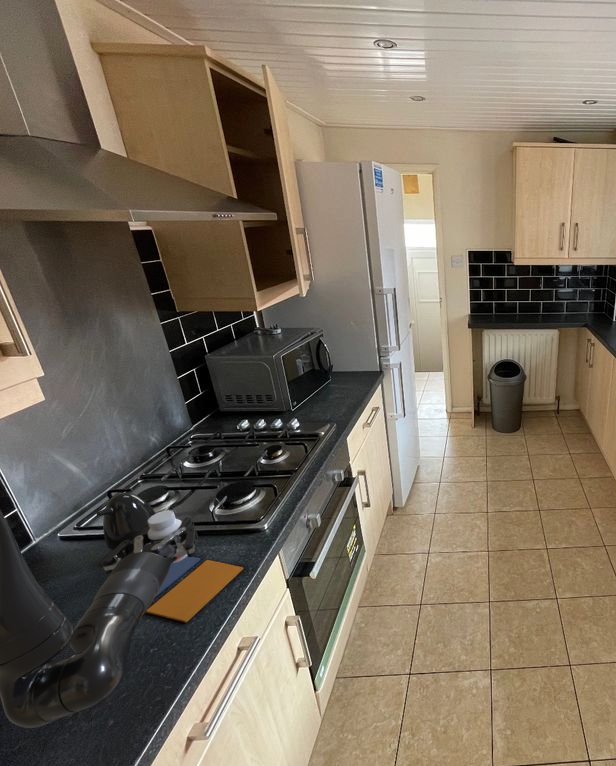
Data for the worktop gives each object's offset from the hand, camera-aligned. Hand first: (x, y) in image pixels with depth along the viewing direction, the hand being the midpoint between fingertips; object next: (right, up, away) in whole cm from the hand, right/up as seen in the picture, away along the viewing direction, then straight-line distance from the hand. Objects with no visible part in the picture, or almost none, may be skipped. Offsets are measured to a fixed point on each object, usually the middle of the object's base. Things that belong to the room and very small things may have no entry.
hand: (171, 524), depth 84 cm
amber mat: (+1, -16, +6) cm, 17 cm away
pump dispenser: (-22, -12, +17) cm, 30 cm away
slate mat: (-10, -15, +8) cm, 20 cm away
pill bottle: (+1, -7, 0) cm, 7 cm away
